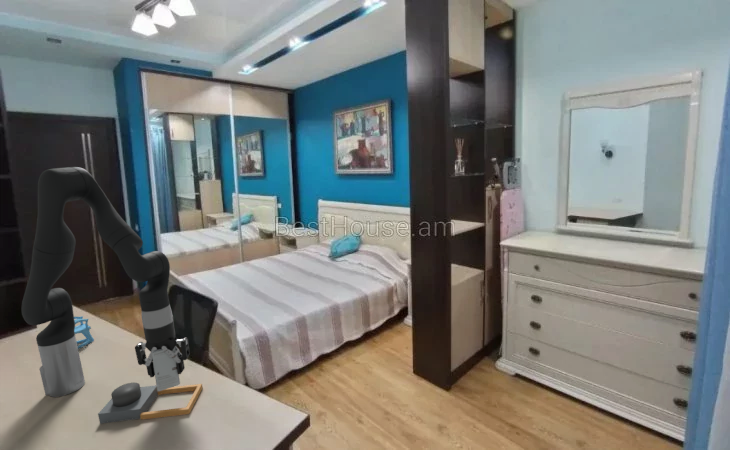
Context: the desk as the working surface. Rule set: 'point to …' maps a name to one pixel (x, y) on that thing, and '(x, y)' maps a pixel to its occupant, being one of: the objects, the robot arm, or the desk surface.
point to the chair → (83, 331)
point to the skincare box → (165, 370)
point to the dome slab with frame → (142, 402)
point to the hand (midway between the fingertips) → (167, 374)
